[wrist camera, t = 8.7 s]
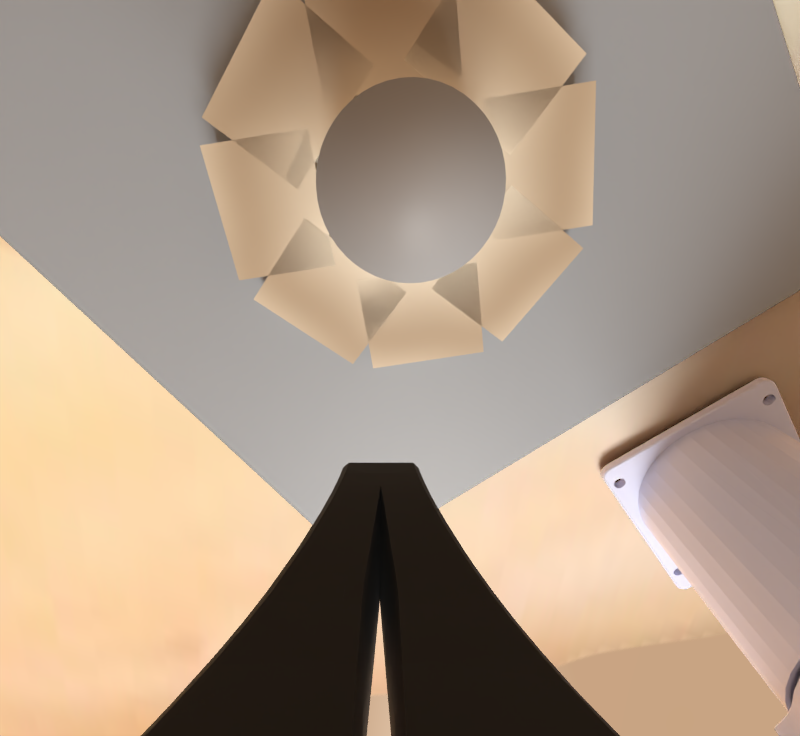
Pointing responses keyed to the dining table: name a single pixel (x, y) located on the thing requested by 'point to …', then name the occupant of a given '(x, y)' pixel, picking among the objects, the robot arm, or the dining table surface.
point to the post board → (402, 226)
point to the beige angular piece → (314, 114)
